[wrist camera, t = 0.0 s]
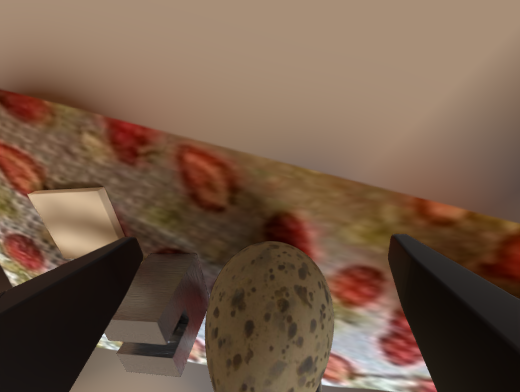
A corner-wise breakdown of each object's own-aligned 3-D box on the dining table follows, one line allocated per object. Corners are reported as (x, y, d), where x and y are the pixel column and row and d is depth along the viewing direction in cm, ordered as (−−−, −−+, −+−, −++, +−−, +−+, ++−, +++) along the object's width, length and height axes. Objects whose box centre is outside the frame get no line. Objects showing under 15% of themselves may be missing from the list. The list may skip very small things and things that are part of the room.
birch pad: (132, 253, 30) (127, 258, 30) (70, 253, 32) (64, 258, 31) (104, 187, 27) (97, 191, 26) (36, 190, 28) (27, 194, 27)
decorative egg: (237, 292, 31) (188, 458, 17) (222, 218, 26) (141, 368, 13) (325, 296, 29) (347, 485, 16) (326, 217, 24) (358, 391, 11)
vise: (210, 302, 32) (180, 377, 24) (86, 297, 36) (25, 361, 28) (196, 253, 29) (156, 322, 21) (61, 253, 32) (-17, 312, 24)
